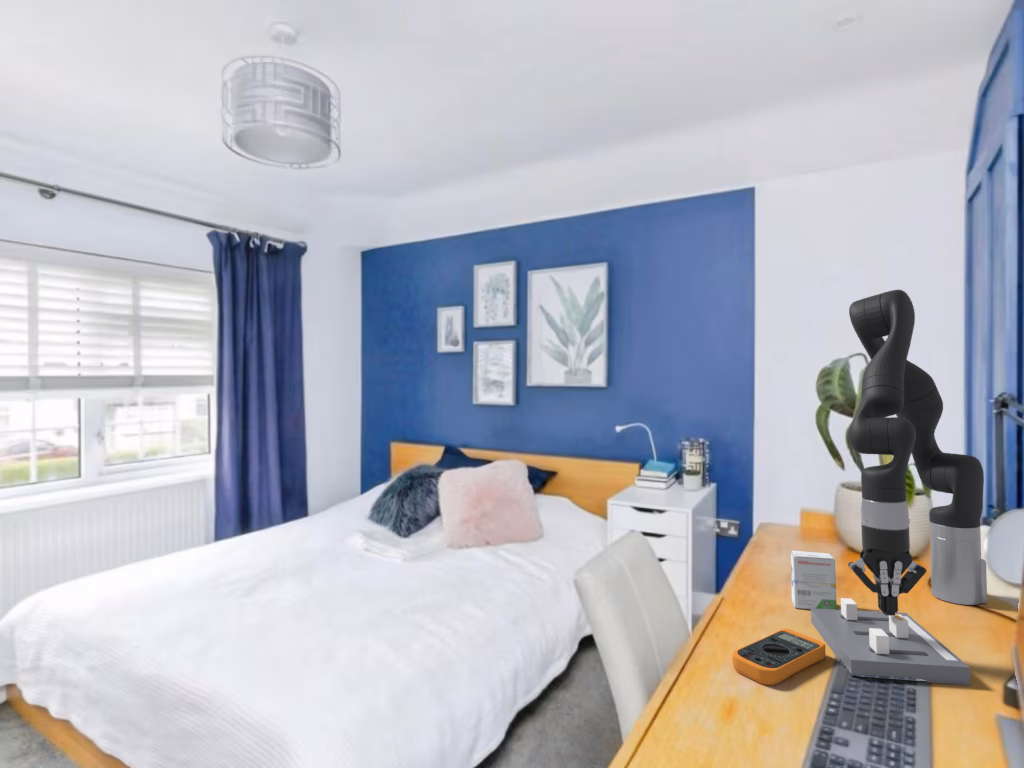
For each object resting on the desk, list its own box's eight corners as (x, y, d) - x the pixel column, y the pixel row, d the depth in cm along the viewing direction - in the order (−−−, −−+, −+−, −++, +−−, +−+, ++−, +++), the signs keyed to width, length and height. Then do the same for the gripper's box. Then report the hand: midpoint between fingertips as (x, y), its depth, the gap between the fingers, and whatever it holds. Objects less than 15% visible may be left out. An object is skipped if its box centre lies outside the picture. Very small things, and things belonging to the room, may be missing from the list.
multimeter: (726, 670, 101) (726, 651, 101) (785, 642, 111) (784, 625, 111) (770, 692, 94) (769, 671, 94) (828, 660, 104) (828, 642, 104)
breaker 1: (851, 614, 115) (851, 598, 115) (857, 620, 112) (857, 604, 112) (841, 613, 115) (840, 598, 115) (846, 619, 112) (846, 603, 112)
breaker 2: (881, 646, 101) (881, 628, 101) (889, 654, 98) (888, 636, 98) (869, 645, 102) (869, 628, 102) (876, 653, 99) (876, 635, 99)
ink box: (794, 608, 126) (792, 556, 126) (791, 599, 131) (789, 549, 131) (837, 612, 123) (836, 559, 123) (832, 603, 128) (831, 552, 128)
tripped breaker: (900, 631, 107) (900, 613, 107) (908, 638, 104) (908, 620, 104) (889, 630, 107) (888, 613, 107) (896, 637, 104) (896, 620, 104)
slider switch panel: (906, 627, 115) (906, 612, 115) (970, 685, 93) (969, 666, 93) (811, 622, 119) (810, 607, 119) (851, 677, 97) (850, 659, 97)
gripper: (914, 517, 108) (917, 607, 108) (838, 517, 111) (842, 604, 111) (935, 528, 101) (938, 624, 101) (854, 527, 103) (857, 621, 103)
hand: (888, 613), depth 106 cm, fingers closed
